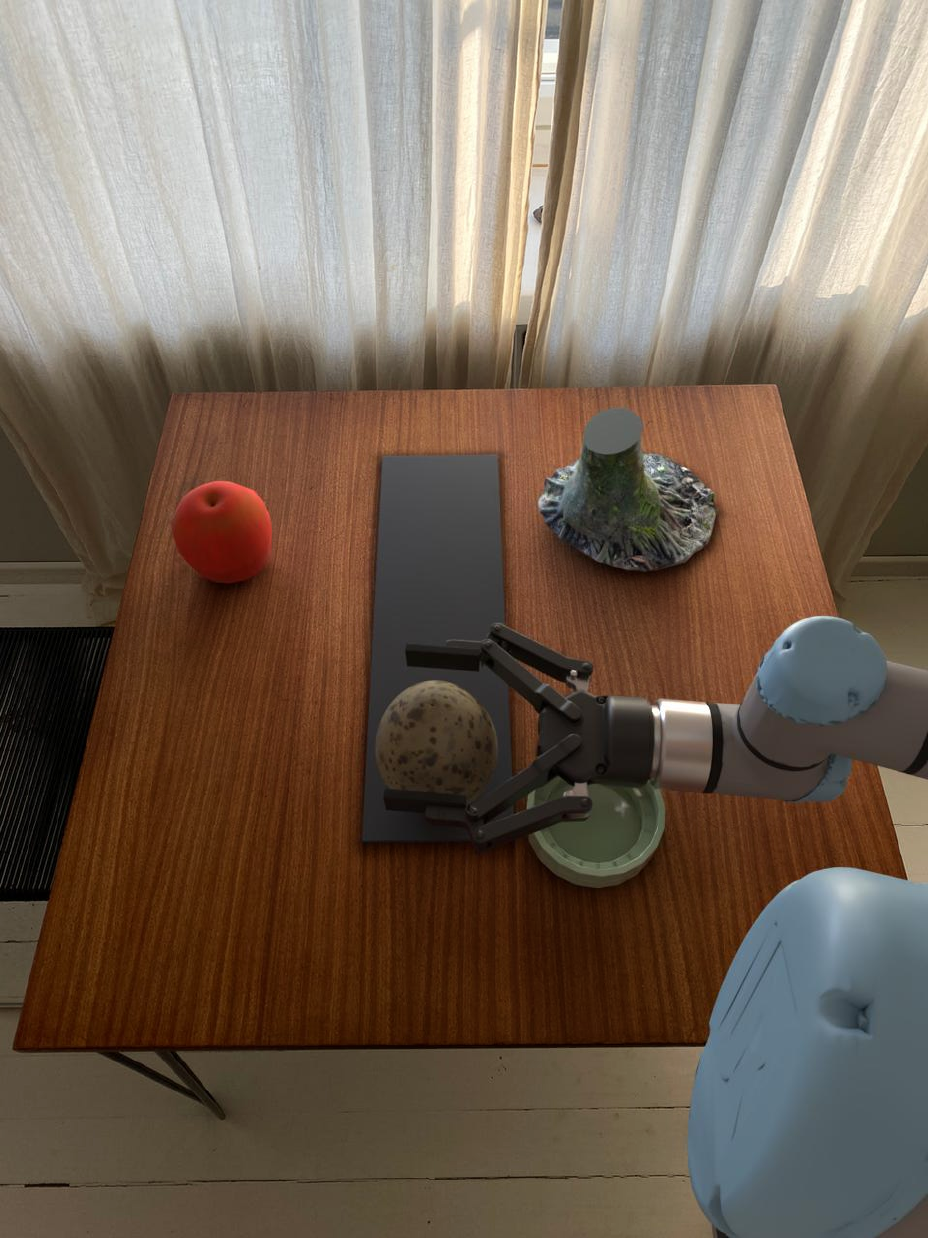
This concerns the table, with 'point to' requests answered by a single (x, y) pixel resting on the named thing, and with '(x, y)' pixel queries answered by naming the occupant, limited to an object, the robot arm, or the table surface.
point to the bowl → (601, 834)
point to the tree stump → (627, 500)
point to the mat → (434, 609)
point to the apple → (223, 531)
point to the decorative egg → (437, 741)
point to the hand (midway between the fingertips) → (395, 723)
